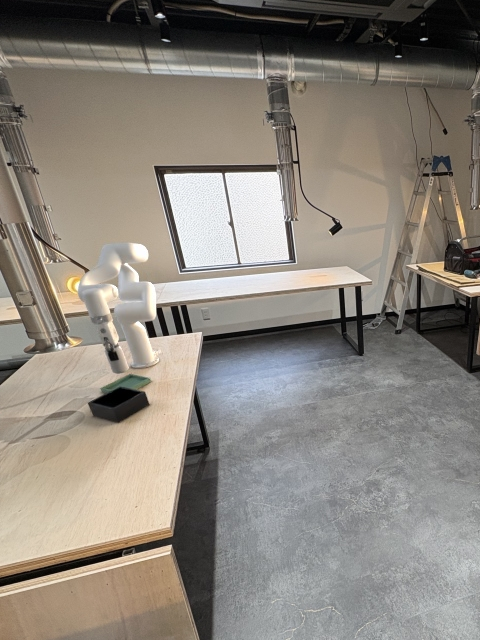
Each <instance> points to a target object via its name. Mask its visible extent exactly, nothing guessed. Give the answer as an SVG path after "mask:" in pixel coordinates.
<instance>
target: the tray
mask: <svg viewBox="0 0 480 640" xmlns="http://www.w3.org/2000/svg"><path fill="white" fill-rule="evenodd" d="M151 382H152V379H151V377H147V376H144V375H143V376H142V375H137V374H134V373H129V374H127V375H125V376H122V377H120V378H119V379H116V380H114V381H113V382H110V383H108V384H106V385H103V386H102V387H100V388H99V389H100V392H101V393H104V394H106V393H108V392H110V391H112V390H114V389H116V388H118V387H120V386H121V387H125V388H130V389H135V390H138V389H140V388H142V387H144V386H146V385H148V384H150V383H151Z"/></svg>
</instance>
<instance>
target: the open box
mask: <svg viewBox="0 0 480 640" xmlns="http://www.w3.org/2000/svg"><path fill="white" fill-rule="evenodd" d="M87 405H88V407H89V410H90V412H91V415H92V417H94V418H97V419H101V420H106V421H109V422H114V423H117V424H119V423H121V422H123V421H125V420H127V419H128V418H130V417H132V416H133V415H135V414H137V413H139V412H141V411H142V410H144V409H145V408H147V407H149V406H150V405H151V404H150V401H149V399H148V396H147V393H146V391H143V390H138V389H136V390H135V389H130V388H125V387H121V386H120V387H118V388H116V389H114V390H112V391H110V392H108V393H104V394H102V395H101V396H98V397H96V398H94V399H93V400H90V401H88V402H87Z"/></svg>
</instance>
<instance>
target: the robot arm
mask: <svg viewBox="0 0 480 640" xmlns="http://www.w3.org/2000/svg"><path fill="white" fill-rule="evenodd" d="M101 247H102V248H101V251H100V253H99V257H98V261H97V264H96V265H95V266H94V267H93V268H91V269H90V270H88V271H87V272H85V274H83V275H82V277H81V278H80V280H79V283H78V286H77V287H78V288H77V297H78V298H79V300H80V301H81V302H82V303H84V305H85V308H86V310H87V313H88V315H89V319H90V321H91V324H92V325H93V326H95V328H96V330H97V334H98V337H99V339H100V341H101V345H102V346H103V347H104V348H105V347H106V350H107V353H108V356H109V358H110V361H116V360H119V358H118V355H117V352H116V351H115V349H114V348H115V347H114V345H116V344H117V345H119V344H118V343H119V340H120V337H119V334H118V332H117V329H116V326H115V325H114V323H113V321H114V318H113V316H112V313H111V310H110V307H109V304H108V303H112V302H115V301H116V300H117V299H118V297H119V300H120V301H121V302H122V303H118V304H117V305H115V307H114V308H113V314H114V317H115V319H116V320H117V323H118V324H119V326H120V328H121V330H122V334H123V335H124V338H125V341H126V344H127V347H128V349H129V352H130V356H131V359H132V362H131V363H130V366H131V367H132V368H133V369H144V368H149V367H152V366H154V365H156V364H158V362H160V360H159V357H157V356H159V355H161V354H162V353H163V352H162V350H161V349H158V350H153V348H152V345H151V342H150V339H149V336H148V333H147V330H146V328H145V326H144V325H143V324H141V323H144V322H145V323H146V322H152V321H154V320H155V319H156V318H157V293H156V289H155V287H154V285H153V283H151V282H149V281H148V280H147V281H144V280H143V281H139V274H138V272H137V271H136V270H135V269H134V268H132V267H131V266H130V265H129V264H142V263H146V262H148V259H149V252H148V250H147V248H146V247H145V246H144V245H143V244H140V243H135V242H128V241H127V242H110V243H106V244H104V245H103V246H101ZM117 277H118V278H117ZM115 278H117V279H118V280H117V283H118V285H117V286H118V287H116V286H115V285H114V284H111V283H105V282H108V281H111V280H113V279H115ZM110 347H112V348H110Z"/></svg>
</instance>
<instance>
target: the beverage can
mask: <svg viewBox="0 0 480 640" xmlns="http://www.w3.org/2000/svg"><path fill="white" fill-rule="evenodd" d="M114 347H115V348H114V349H115V351H116V352H117V355H118V358H119V360H116V361H110V358H109V356H108V353H107V350H106V347H104V353H105V356H106V359H107V362H108V364H109V366H110V369H111V372H112V373H113V374H116V375H119V374H124V373H126V372H128V370H129V369H130V368H129V365H128V361H127V359H126V357H125V354H124V351H123V348H122V347H121V346H120V344H118V345H117V344H116V345H114ZM110 348H112V347H110Z"/></svg>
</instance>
